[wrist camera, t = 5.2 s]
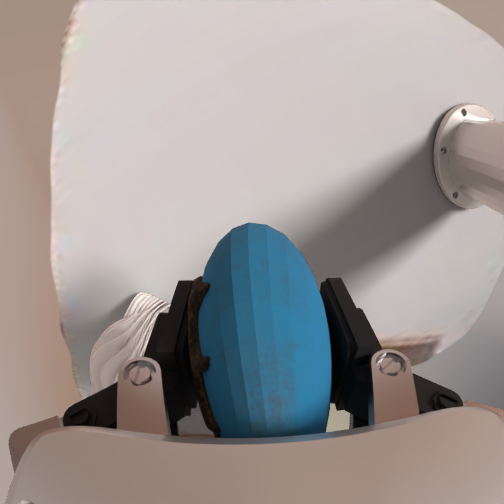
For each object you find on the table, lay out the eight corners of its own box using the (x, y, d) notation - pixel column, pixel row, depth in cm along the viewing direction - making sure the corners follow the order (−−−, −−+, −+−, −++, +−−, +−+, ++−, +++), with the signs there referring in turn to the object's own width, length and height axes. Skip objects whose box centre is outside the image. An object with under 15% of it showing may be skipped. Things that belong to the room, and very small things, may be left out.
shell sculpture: (113, 321, 33) (63, 446, 17) (132, 270, 30) (65, 406, 14) (174, 348, 35) (153, 479, 19) (200, 301, 32) (184, 450, 16)
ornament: (185, 206, 12) (69, 446, 3) (301, 188, 12) (438, 418, 3) (225, 356, 15) (217, 541, 6) (312, 345, 15) (353, 528, 6)
